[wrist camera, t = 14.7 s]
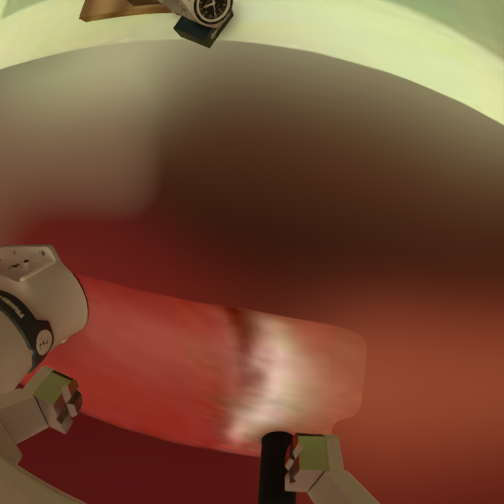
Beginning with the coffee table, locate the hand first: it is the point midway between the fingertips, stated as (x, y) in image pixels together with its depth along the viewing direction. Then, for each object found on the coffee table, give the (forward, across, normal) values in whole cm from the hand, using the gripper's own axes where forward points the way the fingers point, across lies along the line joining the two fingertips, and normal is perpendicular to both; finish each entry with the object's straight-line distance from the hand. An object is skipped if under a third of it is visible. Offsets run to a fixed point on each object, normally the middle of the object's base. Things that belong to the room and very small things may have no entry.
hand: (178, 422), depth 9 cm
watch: (+29, -9, +24) cm, 39 cm away
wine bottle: (+29, +13, -41) cm, 52 cm away
